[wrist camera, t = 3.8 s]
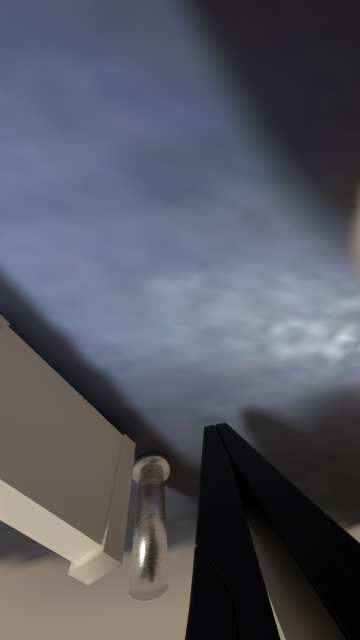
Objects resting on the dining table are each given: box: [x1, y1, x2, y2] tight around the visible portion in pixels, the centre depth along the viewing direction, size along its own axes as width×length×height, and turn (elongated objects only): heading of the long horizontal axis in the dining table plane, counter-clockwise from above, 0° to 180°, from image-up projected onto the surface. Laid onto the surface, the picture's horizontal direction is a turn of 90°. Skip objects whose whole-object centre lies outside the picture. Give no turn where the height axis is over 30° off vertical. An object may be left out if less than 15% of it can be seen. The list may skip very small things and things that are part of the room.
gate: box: [0, 315, 136, 585], centre depth 8 cm, size 10×2×5 cm, turn 34°
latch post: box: [129, 452, 170, 600], centre depth 10 cm, size 2×2×5 cm
